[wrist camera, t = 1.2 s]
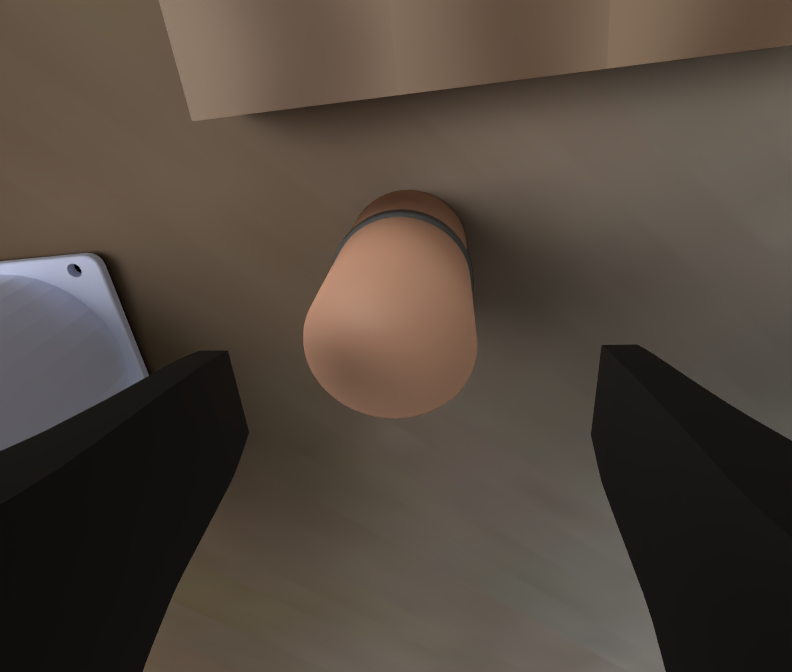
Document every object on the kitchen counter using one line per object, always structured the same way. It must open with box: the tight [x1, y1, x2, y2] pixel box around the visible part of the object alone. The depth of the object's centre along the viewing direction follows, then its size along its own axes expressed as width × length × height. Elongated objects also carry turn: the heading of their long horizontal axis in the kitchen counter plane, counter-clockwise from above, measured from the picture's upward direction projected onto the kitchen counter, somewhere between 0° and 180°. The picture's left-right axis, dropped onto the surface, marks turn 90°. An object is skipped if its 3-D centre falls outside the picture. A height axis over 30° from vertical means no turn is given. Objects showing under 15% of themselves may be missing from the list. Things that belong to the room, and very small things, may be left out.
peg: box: [303, 190, 478, 418], centre depth 15 cm, size 4×4×7 cm
